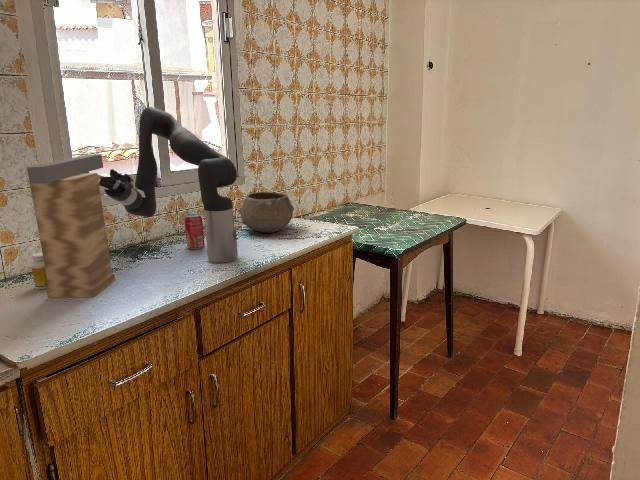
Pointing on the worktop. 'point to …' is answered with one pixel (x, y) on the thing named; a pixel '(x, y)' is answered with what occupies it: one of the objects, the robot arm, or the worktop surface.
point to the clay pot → (266, 211)
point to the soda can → (194, 231)
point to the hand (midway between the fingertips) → (97, 172)
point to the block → (64, 168)
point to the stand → (73, 236)
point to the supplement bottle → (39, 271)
